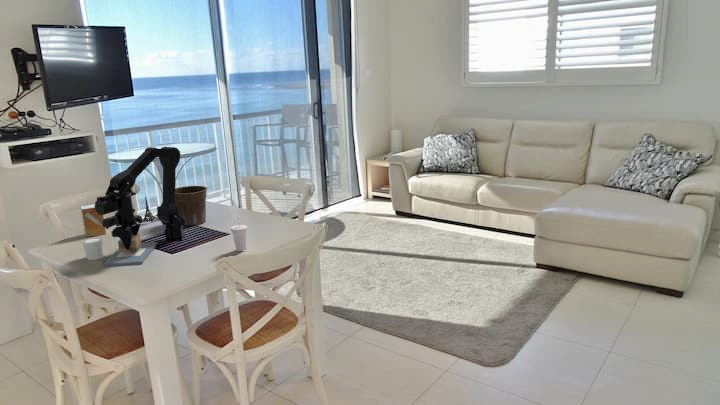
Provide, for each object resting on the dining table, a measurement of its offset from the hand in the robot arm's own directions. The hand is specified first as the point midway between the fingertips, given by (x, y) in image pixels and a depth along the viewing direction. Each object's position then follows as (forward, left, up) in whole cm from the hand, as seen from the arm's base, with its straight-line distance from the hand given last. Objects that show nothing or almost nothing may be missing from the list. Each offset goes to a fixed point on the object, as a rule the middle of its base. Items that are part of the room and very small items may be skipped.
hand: (130, 246), depth 205 cm
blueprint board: (0, 0, -4) cm, 4 cm away
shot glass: (+14, 0, -4) cm, 15 cm away
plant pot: (-16, -40, -4) cm, 43 cm away
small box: (+25, -31, -4) cm, 40 cm away
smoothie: (-43, +3, -4) cm, 43 cm away
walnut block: (0, 0, -1) cm, 1 cm away
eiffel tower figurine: (+6, -48, -4) cm, 49 cm away
